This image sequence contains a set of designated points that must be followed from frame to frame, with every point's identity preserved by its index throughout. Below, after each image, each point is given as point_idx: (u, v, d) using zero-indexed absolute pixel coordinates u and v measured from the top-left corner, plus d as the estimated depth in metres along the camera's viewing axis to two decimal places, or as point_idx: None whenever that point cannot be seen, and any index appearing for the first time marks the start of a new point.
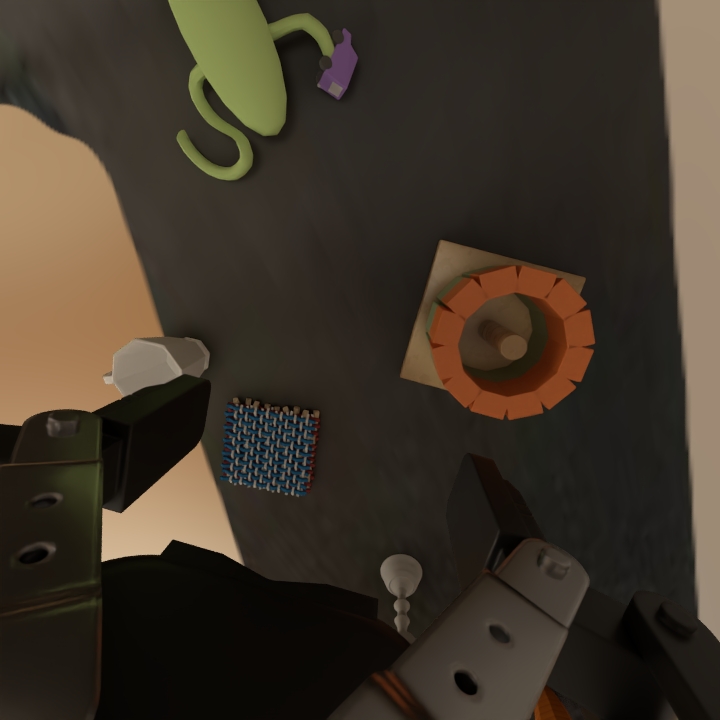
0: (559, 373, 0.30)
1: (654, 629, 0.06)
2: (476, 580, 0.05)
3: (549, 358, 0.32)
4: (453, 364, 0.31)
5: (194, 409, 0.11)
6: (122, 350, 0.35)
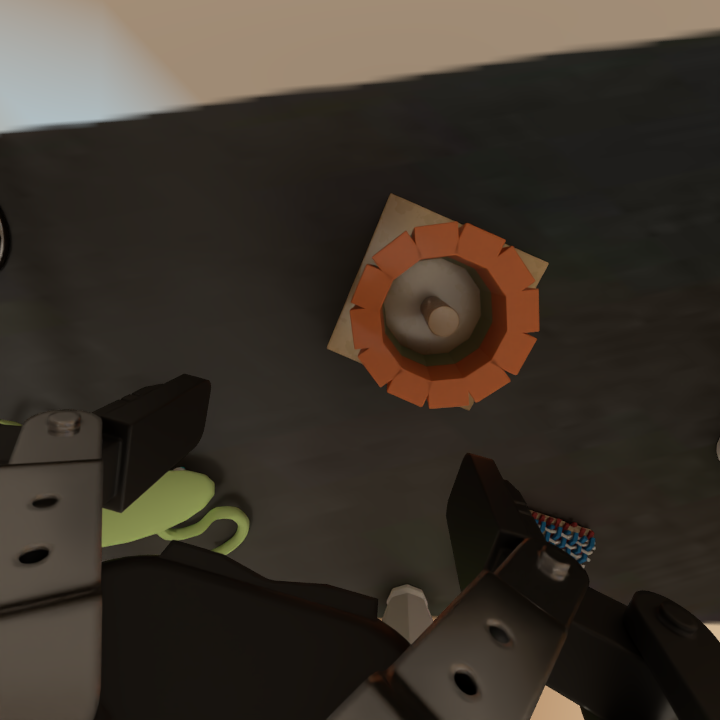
0: (488, 266, 0.24)
1: (654, 629, 0.06)
2: (476, 580, 0.05)
3: (471, 265, 0.26)
4: (453, 388, 0.26)
5: (194, 409, 0.11)
6: None
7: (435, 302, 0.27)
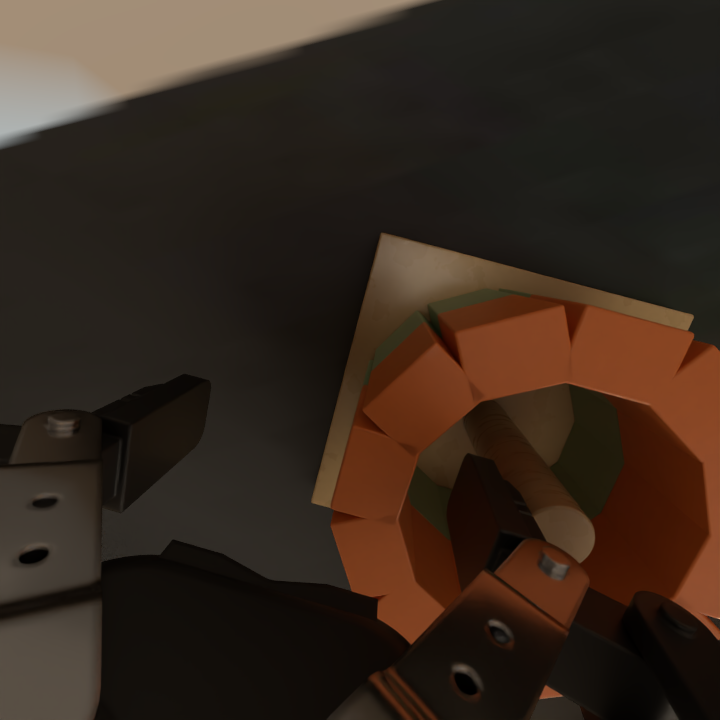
0: (653, 400, 0.10)
1: (654, 629, 0.06)
2: (476, 580, 0.05)
3: None
4: None
5: (194, 409, 0.11)
6: None
7: (511, 457, 0.13)
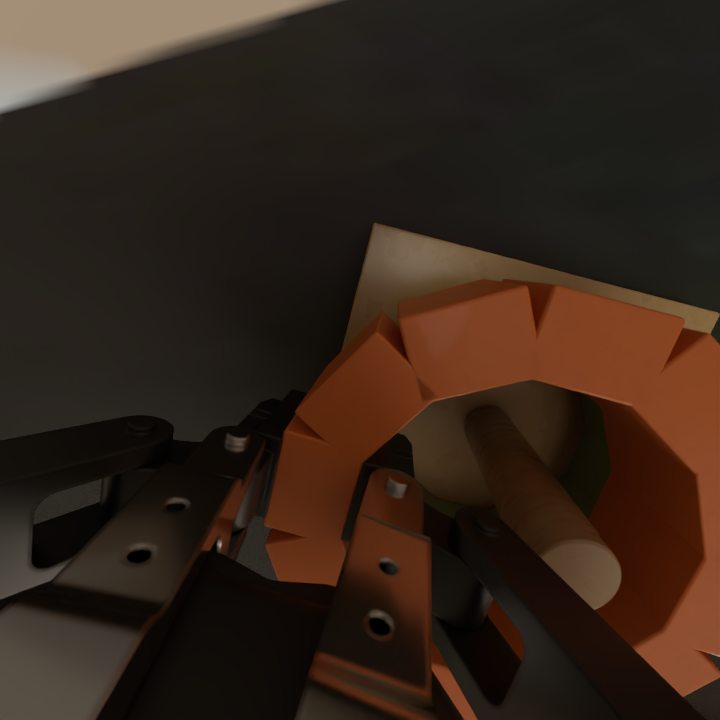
0: (637, 400, 0.08)
1: (462, 530, 0.07)
2: (356, 528, 0.06)
3: None
4: None
5: None
6: None
7: (519, 475, 0.11)
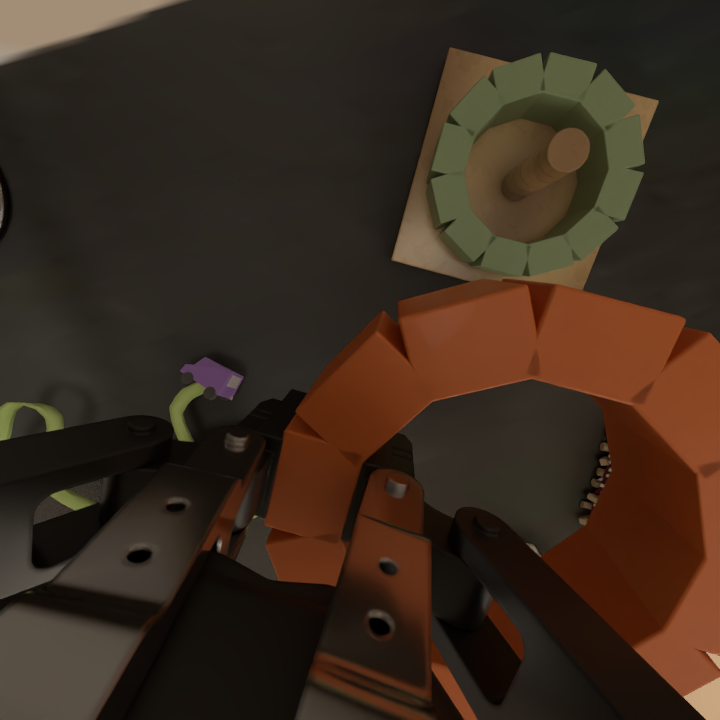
0: (637, 399, 0.08)
1: (461, 530, 0.07)
2: (356, 528, 0.06)
3: None
4: None
5: None
6: None
7: None
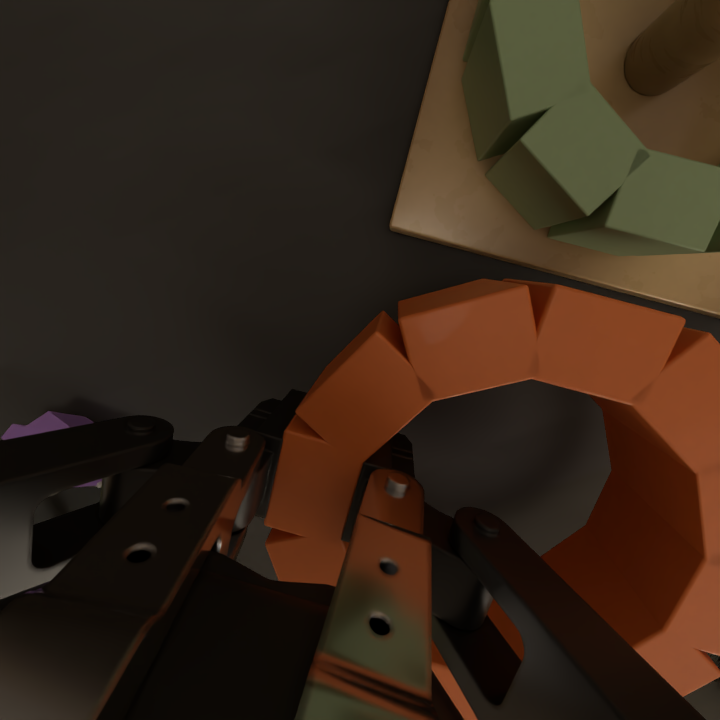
0: (637, 399, 0.08)
1: (462, 530, 0.07)
2: (356, 528, 0.06)
3: None
4: None
5: None
6: None
7: None
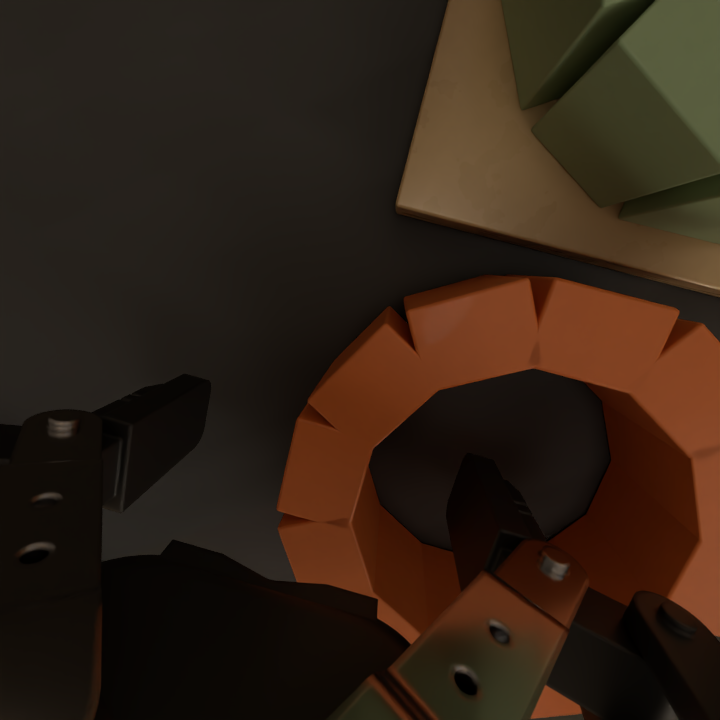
0: (634, 387, 0.08)
1: (654, 629, 0.06)
2: (476, 580, 0.05)
3: None
4: None
5: (195, 409, 0.11)
6: None
7: None
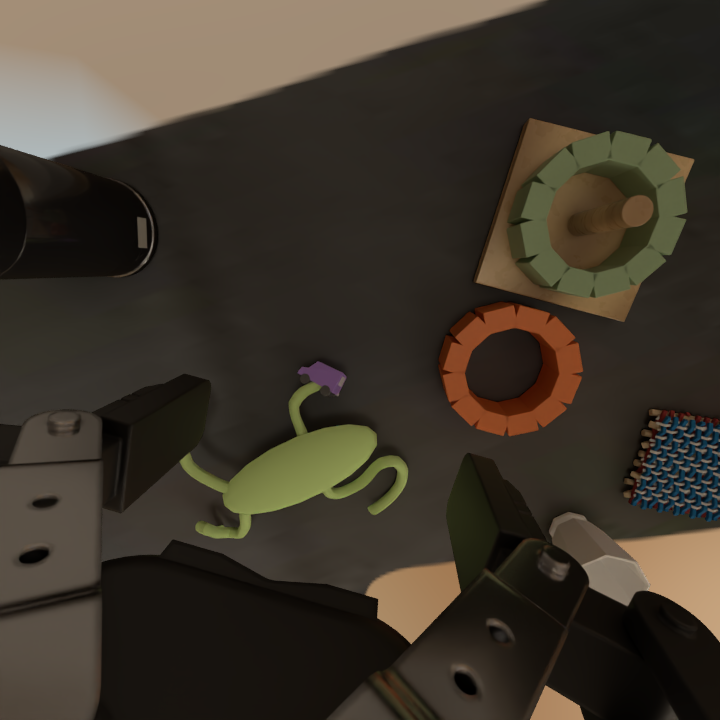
0: (540, 332, 0.34)
1: (654, 629, 0.06)
2: (476, 580, 0.05)
3: None
4: (525, 419, 0.36)
5: (195, 408, 0.11)
6: None
7: (610, 203, 0.28)
